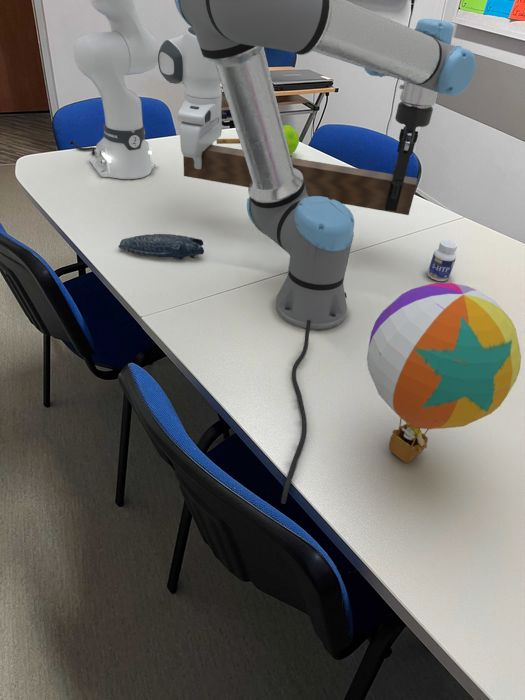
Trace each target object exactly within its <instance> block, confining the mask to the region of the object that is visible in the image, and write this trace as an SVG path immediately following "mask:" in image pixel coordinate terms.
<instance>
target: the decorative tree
mask: <svg viewBox="0 0 525 700" xmlns="http://www.w3.org/2000/svg"><path fill="white" fill-rule="evenodd" d="M282 125H283V124H282ZM283 129H284V133H285V137H286V141H287V145H288V149H289V153H290V155H291V154H294V153H295V151H296V150H297V148H298V145H299V143H300V137H299V132H298V131H297V130H296V129H294V128H293V127H292V125H287V124H285V125H283ZM216 144H217V145H229V144H230V145H232V144H233V145H234V144H239V145H241V144H240V140H239V138H218V139H217V140H216Z"/></svg>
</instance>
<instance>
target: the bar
mask: <svg viewBox="0 0 525 700" xmlns="http://www.w3.org/2000/svg"><path fill="white" fill-rule="evenodd" d="M182 157H183V158H182V159H183V177H187V178H192V179H198V180H204V181H209V182H216V183H221V184H227V185H233V186H239V187H245V188H249V185H250V183H251V182H252V178H251V175H250V172H249V169H248V165H247V162H246V159H245V156H244V153H243V150H242V148H241V149H238V148H234V147H228V146H222V145H216V144H213V145H210V146H209V147H208V148H207V149H205V150H204V151H203V152H202V156H201V158H202V161H203V167H202V168H201V169H196V168H195V167H194V160H193V158H190V157H185V156H183V155H182ZM291 161H292V166H293V168H295V169H297V170H299V171H300V172H301V173H302V175H303V179H304V183H305V187H306V191H307V194H308V196H309V197H311V196H322V197H327V198H328V199H330V200H333V199H334V200H336V201H338V202H340V203H342V204H343V205H348V206H352V207H359V208H364V209H370V210H376V211H382V212H387V213H393V214H398V215H399V214H400V215H406V216H410V212H411V209H412V205H413V200H414V196H415V192H416V189H417V186H418V178H417V177H412V176H408V175H407V176H405V178H404V184H403V186H402V190H401V194H400V198H399V202H398V206H397V210H396V212H395V211H390V210H385V206H386V202H387V198H388V194H389V190H390V185H391V184H389V181H392V180H393V176H394V173H387V172H381V171H377V170H376V171H375V170H370V169H362V168H356V167H351V166H345V165H339V164H332V163H326V162H321V161H314V160H308V159H300V158H296V157H291Z"/></svg>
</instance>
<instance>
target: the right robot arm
mask: <svg viewBox="0 0 525 700" xmlns="http://www.w3.org/2000/svg"><path fill="white" fill-rule="evenodd" d="M174 4H175V6H176V9H177V12H178V13H179V15H180V16H181V18H182V19H183V20H184V21H185V23H186V24H187V25H188V26H189V27H193V28H194V31H195V34H196V37H197V40H198V43H199V46H200V49H201V52H202V55H203V57H204V58H205V59H207V60H209V61H211V62H213V63H214V64H215V65H216V68H217V72H218V75H219V78H220V81H221V83H220V85H221V88H222V90H223V94H224V96H225V100H226V103H227V106H228V108H229V109H228V110H229V112H230V115H231V118H232V122H233V124H234V128H235V131H236V134H237V137H238V139H239V140H240V144H239V145H240V146H241V150H243V153H244V156H245V159H246V162H247V165H248V169H249V172H250V175H251V178H252V182H251V183H250V185H249V187H247V189H248V190H247V191H248V196H249V197H247V200H246V211H247V214H248V217H249V220H250V222H251V223H252V224H253V225H254V226H255V228H256V229H257V230H258V231H259V232H260V233H262V234H264V235H265V236H266V237H268V239H271V241H273V242H274V243H275V244H277V245H278V246H279V247H280V248H282V249H283V251H285V252H286V253H287V254H288V255H289V262H288V263H289V264H288V270H287V271H288V272H287V275H286V278H285V279H284V282H283V283H282V285H281V287H280V290H279V291H278V294H277V296H276V300H275V311H276V313H277V315H278V316H279V317H280V318H281V319H282V320H283V321H284V322H286V323H287V324H289V325H291V326H293V327H296V328H300V329H304V330H305V331H304V342H303V348H302V351H301V353H300V354H299V356H298V357H297V359H296V360H295V362H294V363H293V366H292V368H291V381H292V385H293V388H294V391H295V394H296V397H297V402H298V403H297V404H298V408H299V413H300V417H301V433H300V439H299V441H298V445H297V447H296V449H295V452H294V454H293V456H292V457H293V458H292V460H291V463H290V466H289V469H288V472H287V475H286V479H285V482H284V485H283V489H282V493H281V499H280V503H281V505H285V504H286V503H287V500H288V496H289V492H290V487H291V483H292V481H293V477H294V474H295V471H296V468H297V465H298V461H299V458H300V456H301V453H302V451H303V449H304V445H305V443H306V437H307V432H308V431H307V430H308V424H307V423H308V422H307V415H306V409H305V406H304V401H303V396H302V391H301V389H300V386H299V384H298V380H297V369H298V367H299V365H300V363H301V362H302V361H303V359H304V358H305V356H306V354H307V352H308V347H309V340H310V339H309V338H310V331H324V330H325V331H326V330H329V329H333V328H336V327H337V326H339V325H340V324H342V323H343V322H344V320H345V318H346V315H347V310H348V307H347V306H348V305H347V299H348V298H347V296H348V295H347V292H345V286H344V280H345V275H346V272H347V267H348V262H349V257H350V254H351V249H352V244H353V240H354V239H353V238H354V235H355V234H354V231H355V229H354V228H355V217H354V215H353V213H352V211H351V210H350V209H349V208H348V207H347V206H346V204H342V203H340V202H338V201H336V200H334V199H333V200H330V199H328V198H327V197H322V196H311V197H309V196H308V194H307V191H306V187H305V183H304V179H303V175H302V173H301V172H300V171H299V170H297V169H295V168H293V166H292V161H291V158H292V157H291V154H290V153H289V149H288V145H287V141H286V137H285V133H284V129H283V121H282V116H281V112H280V109H279V105H278V101H277V96H276V92H275V88H274V83H273V81H272V76H271V72H270V68H269V64H268V60H267V55H266V50H265V48H266V49H267V48H268V49H273V50H279V51H285V52H289V53H292V54H295V55H299V56H305V55H308V54H310V53H312V52H314V53H317V54H320V55H324V56H326V57H330V58H332V59H335V60H339V61H342V62H345V63H348V64H351V65H355V66H356V67H360V68H363V69H364V71H365V72H366V73H367V74H368V75H370V76H371V77H379V78H383V77H391V78H394V79H397V80H401V81H403V83H402V84H399V87H398V88H399V90H401V92H400V96H399V99H400V102H399V103H398V105H397V108H396V113H395V117H394V119H395V121H396V122H397V123H398V124H400V125H404V126H403V128H400V131H399V137H398V145H397V149H396V151H397V157H396V161H395V164H394V167H393V168H394V169H393V171H392V172H393V174H394V176H393V180H392V181H389V184H391V185H390V190H389V194H388V198H387V202H386V206H385V210H390V211H395V212H396V210H397V206H398V202H399V198H400V194H401V190H402V186H403V184H404V178H405V176H407V177H408V166H409V162H410V158H411V155H413V152H414V149H415V143H417V142H418V138H419V131H418V130H417V128H425V127H428V126H429V125H430V123H431V119H432V115H433V111H434V108H433V106H434V105H436V101H437V98H438V94H440V95H445V96H449V97H456V96H458V95H460V94H462V93H463V92H464V91H465V90H466V89H467V88H468V86H469V85H470V84H471V82H472V79H473V77H474V75H475V72H476V65H477V63H476V57H475V54H474V53H473V51H471V50H470V49H467V48H463V47H462V46H460V45H453V44H452V40H453V35H454V30H455V29H454V25H453V23H452V22H450V21H446V20H441V19H434V18H421V19H419V20H418V21H417V22H416V25H415V28H411V27H409V26H406V25H404V24H402V23H400V22H397V21H395V20H393V19H391V18H388V17H386V16H383V15H381V14H378V13H377V12H374V11H371V10H369V9H367V8H364V7H362V6H360V5H358V4H355V3H353V2H350V1H348V0H174Z"/></svg>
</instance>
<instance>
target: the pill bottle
mask: <svg viewBox="0 0 525 700" xmlns="http://www.w3.org/2000/svg"><path fill="white" fill-rule="evenodd" d="M457 248H458V244H457V243H456V242H455V241H452V240H449V239H441V241H440V242H439V245H438V248H436V249H435V250H434V251H433V254H432V257H431V261H430V263H429V267H428V270H427V276H428V277H429V278H431V279H432V280H435V281H438V282H445V281H448V280H449V278H450V277H451V273H452V271H453V269H454V265H455V262H456V259H457V254H456V251H457Z"/></svg>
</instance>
